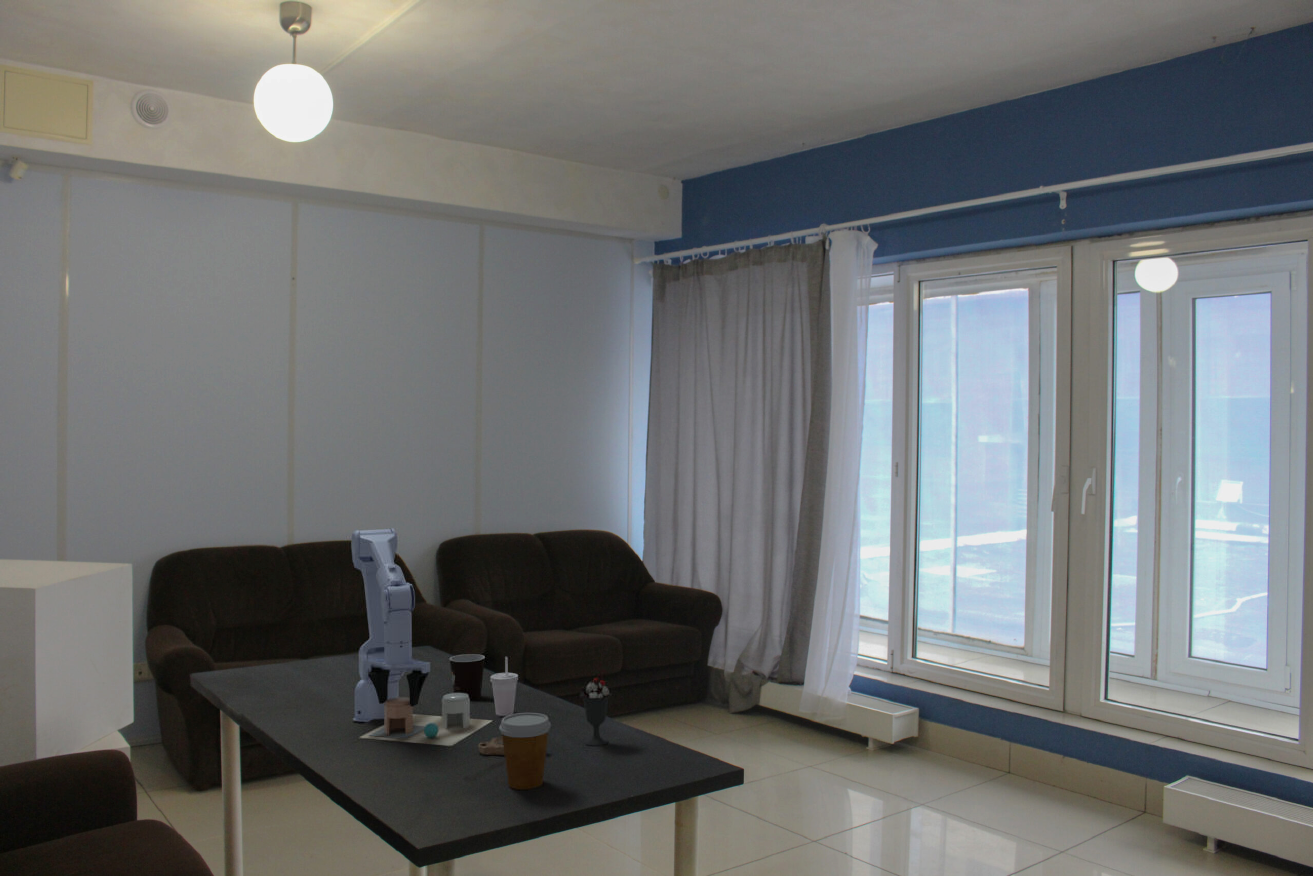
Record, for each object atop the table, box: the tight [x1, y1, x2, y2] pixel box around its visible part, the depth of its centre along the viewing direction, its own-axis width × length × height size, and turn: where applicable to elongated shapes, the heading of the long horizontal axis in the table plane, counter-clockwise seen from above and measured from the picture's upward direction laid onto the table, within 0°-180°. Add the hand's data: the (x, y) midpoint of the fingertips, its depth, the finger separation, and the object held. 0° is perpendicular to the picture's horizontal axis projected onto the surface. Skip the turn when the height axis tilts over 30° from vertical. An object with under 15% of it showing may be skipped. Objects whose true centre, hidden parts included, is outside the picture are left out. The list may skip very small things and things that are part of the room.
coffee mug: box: [449, 653, 486, 702], centre depth 245 cm, size 12×9×10 cm
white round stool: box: [441, 692, 471, 729], centre depth 216 cm, size 6×6×7 cm
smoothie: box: [490, 656, 519, 717], centre depth 226 cm, size 6×6×14 cm
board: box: [358, 713, 493, 747], centre depth 214 cm, size 22×19×1 cm
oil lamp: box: [478, 736, 505, 756], centre depth 199 cm, size 13×8×5 cm, turn 105°
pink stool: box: [383, 696, 414, 734], centre depth 212 cm, size 6×6×7 cm
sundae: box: [579, 669, 612, 747], centre depth 207 cm, size 7×7×15 cm
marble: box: [424, 723, 438, 738], centre depth 208 cm, size 3×3×3 cm
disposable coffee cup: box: [498, 712, 552, 790], centre depth 182 cm, size 10×10×12 cm
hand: (398, 703), depth 213 cm, fingers open, 7 cm apart
